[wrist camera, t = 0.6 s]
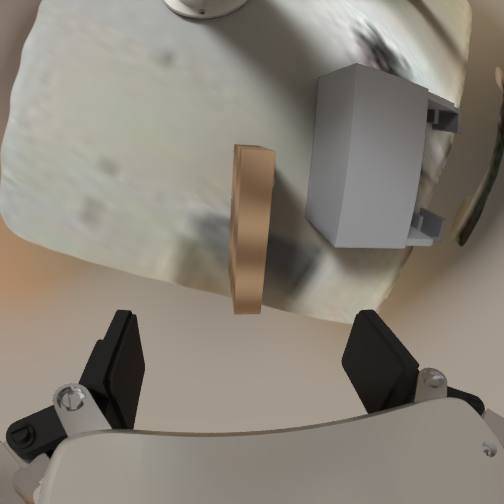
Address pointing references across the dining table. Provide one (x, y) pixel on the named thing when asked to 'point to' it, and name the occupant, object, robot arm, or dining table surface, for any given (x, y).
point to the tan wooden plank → (249, 225)
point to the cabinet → (373, 159)
